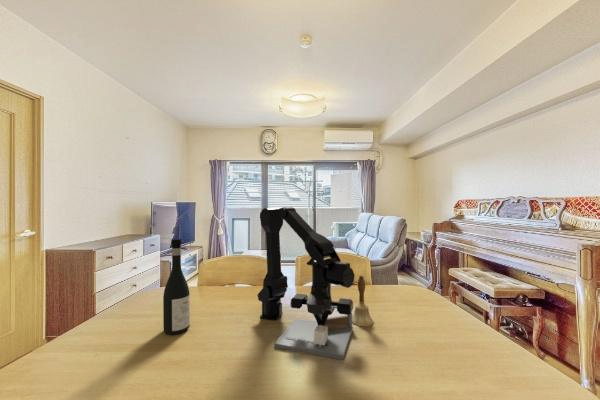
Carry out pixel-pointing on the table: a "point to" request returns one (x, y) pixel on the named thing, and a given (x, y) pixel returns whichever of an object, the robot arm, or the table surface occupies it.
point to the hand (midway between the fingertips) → (321, 331)
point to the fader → (320, 335)
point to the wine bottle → (176, 296)
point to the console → (302, 339)
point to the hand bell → (361, 307)
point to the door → (337, 322)
